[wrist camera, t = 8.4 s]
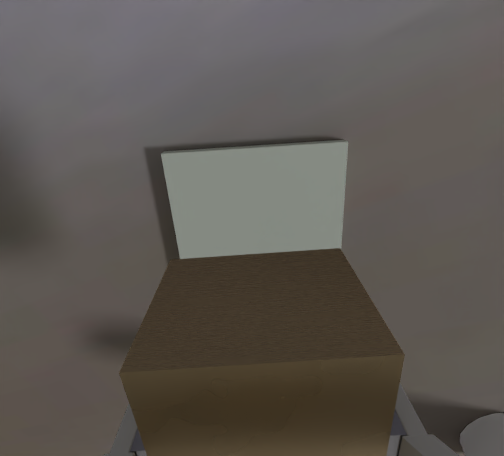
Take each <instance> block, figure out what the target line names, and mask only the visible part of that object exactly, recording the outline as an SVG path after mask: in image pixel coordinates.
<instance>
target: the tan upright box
mask: <svg viewBox="0 0 504 456" xmlns="http://www.w3.org/2000/svg"><path fill="white" fill-rule="evenodd" d="M404 356H405V354H404V353H403V351H402V349H401V348H400V346H399V344H398V343H397V341H396V340H395V338H394V336H393V335H392V333H391V331H390V330H389V328H388V326H387V325H386V323H385V321H384V320H383V318H382V316H381V315H380V313H379V312H378V310H377V308H376V307H375V305H374V303H373V302H372V300H371V298H370V297H369V295H368V293H367V292H366V290H365V288H364V287H363V285H362V284H361V282H360V280H359V279H358V277H357V275H356V274H355V272H354V270H353V269H352V267H351V265H350V264H349V262H348V261H347V259H346V257H345V256H344V254H343V252H342V251H341V249H340V248H334V249H319V250H305V251H290V252H275V253H260V254H246V255H231V256H216V257H201V258H187V259H172V260H170V262H169V264H168V266H167V269H166V271H165V273H164V275H163V277H162V280H161V282H160V284H159V286H158V288H157V291H156V293H155V295H154V297H153V299H152V302H151V304H150V306H149V308H148V310H147V313H146V315H145V317H144V319H143V321H142V324H141V326H140V328H139V330H138V332H137V335H136V337H135V339H134V341H133V343H132V346H131V348H130V350H129V352H128V354H127V357H126V359H125V361H124V363H123V365H122V368H121V370H120V372H119V374H120V377H121V380H122V383H123V386H124V389H125V392H126V395H127V398H128V401H129V404H130V407H131V410H132V413H133V416H134V419H135V422H136V425H137V428H138V431H139V434H140V436H141V439H142V442H143V445H144V448H145V451H146V454H147V456H387V450H388V444H389V439H390V433H391V428H392V422H393V417H394V411H395V406H396V400H397V394H398V389H399V383H400V378H401V372H402V367H403V361H404Z"/></svg>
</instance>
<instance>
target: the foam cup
mask: <svg viewBox="0 0 504 456" xmlns="http://www.w3.org/2000/svg"><path fill="white" fill-rule="evenodd" d="M460 444H461V446H462V447H463V451H464V454H465V456H504V413H494V414H490V415H487V416H483V417H480V418H478V419H476V420H475V421H473V422H471V423H470V424H468V425H467V426H466V427H465V429H464V430H463V431H462V432H461V434H460Z"/></svg>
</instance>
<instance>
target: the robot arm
mask: <svg viewBox="0 0 504 456" xmlns="http://www.w3.org/2000/svg"><path fill="white" fill-rule="evenodd" d="M103 456H147V454H146V451H145V448H144V445H143V442H142V439H141V436H140V434H139V431H138V428H137V425H136V422H135V419H134V416H133V413H132V410H131V407H130V404H128V407H127V409H126V412H125V414H124V417H123V420H122V422H121V425H120V428H119V430H118V433H117V435H116V438H115V441H114V443H113V446H112V448H111V451H110V454H104V455H103ZM387 456H459V455H458V454H457V453H456V452H454V451H453V450H452V449H451V448H449V447H448V446H447V445H446V444H444V443H443V442H442V441H441V440H440V439H438V438H437V437H436V436H435V435H433V434H427V432H426V430H425V428H424V427H423V425H422V423H421V421H420V419H419V417H418V415H417V414H416V412H415V410H414V408H413V406H412V404H411V402H410V401H409V399H408V397H407V395H406V393H405V391H404V389H403V388H402V386H401V384H400V383H399V389H398V394H397V400H396V406H395V411H394V417H393V422H392V428H391V433H390V439H389V444H388V450H387Z"/></svg>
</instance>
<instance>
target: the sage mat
mask: <svg viewBox="0 0 504 456" xmlns="http://www.w3.org/2000/svg"><path fill="white" fill-rule="evenodd" d="M347 152H348V141H346V140H332V141H316V142H301V143H286V144H270V145H255V146H239V147H224V148H209V149H193V150H178V151H164V152H163V153H161V157H162V163H163V168H164V174H165V179H166V185H167V190H168V196H169V201H170V206H171V212H172V217H173V223H174V228H175V234H176V239H177V245H178V250H179V256H180V259H187V258H201V257H216V256H231V255H246V254H260V253H275V252H290V251H305V250H319V249H334V248H340V249H341V243H342V228H343V213H344V198H345V183H346V167H347Z"/></svg>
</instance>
